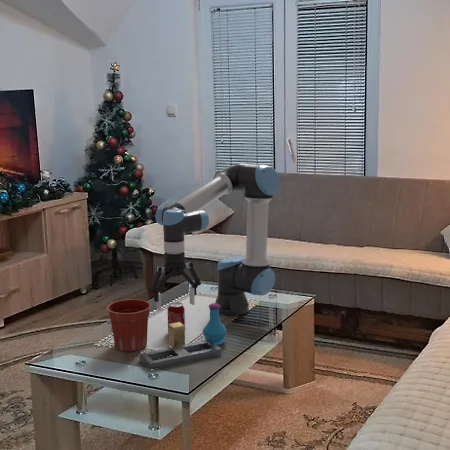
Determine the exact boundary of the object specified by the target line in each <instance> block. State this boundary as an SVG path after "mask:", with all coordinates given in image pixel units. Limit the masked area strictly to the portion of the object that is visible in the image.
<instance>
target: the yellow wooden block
mask: <svg viewBox="0 0 450 450" xmlns="http://www.w3.org/2000/svg"><path fill="white" fill-rule="evenodd" d="M185 332H186V325H185V326H184V325H183V324H182V323H180V322H177V323H172V324H169V332H168V341H169V342H168V343H169V344H168V346H169V345H170V346H171V347H177V346H182V345H186V333H185ZM171 347H170V348H171Z"/></svg>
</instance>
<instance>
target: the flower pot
mask: <svg viewBox="0 0 450 450" xmlns="http://www.w3.org/2000/svg"><path fill="white" fill-rule="evenodd" d="M151 306H152V304H151V303H150V302H149V301H147V300H144V299H137V298H129V299H126V298H125V299H121V300H115V301H113V302H111V303H109V304H108V305H107V306H106V310H107V311H108V317H109V319H110V322H111V323H110V324H111V331H112V337H113V338H112V339H113V343H114V348H115V349H116V350H118V351H121V352H125V353H126V352H127V353H130V352H136V351H137V350H140V351H141V350H143V349H144V348H146V347H147V345H148V331H149V330H148V327H149V325H148V324H149V316H150V308H151Z"/></svg>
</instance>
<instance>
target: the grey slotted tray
mask: <svg viewBox="0 0 450 450" xmlns="http://www.w3.org/2000/svg"><path fill="white" fill-rule="evenodd" d="M170 355H173V356H171V357H167V356H170ZM219 356H222V348H221V347H220V346H218V345H215V344H214V343H213V342H211V341H210V340H206V339H205V340H202V341H201V340H200V341H197V342H192V343H189V344H185V345H182V346H177V347H172V348H171V347H168V348H163V349H158V350H153V351H149V352H145V353H144V352H143V353H140V354H139V360H140V361H139V362H140V363H142V364H143V365H144V366H145V365H146V366H147V367H148V368H149V369H150V370H151V369H155V370H157V369H156V368H160V369H163V368H164V367H165V368H168V367H169V368H170V367H173V366H178V365H182V364H186V363H191V362H195V361H197V362H198V361H200V360H205V359H209V358H213V357H214V358H215V357H219ZM163 357H166V358H163ZM158 358H161V359H158ZM154 359H157V360H154ZM146 366H145V367H146ZM147 367H146V368H147ZM148 368H147V369H148ZM165 368H164V369H165ZM149 369H148V370H149ZM150 370H149V371H150ZM151 371H152V370H151Z"/></svg>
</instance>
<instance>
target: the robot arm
mask: <svg viewBox="0 0 450 450" xmlns="http://www.w3.org/2000/svg"><path fill="white" fill-rule="evenodd" d="M279 187H280V178H279V174H278V171H276V169H275V168H273V166H269V165H265V164H255V163H246V162H243V163H242V162H240V163H237V164H234V165H232V166H230V167H226V168H225V169H223V170H222V171H220V172H218V173H217V174H215V176H214V178H213V179H212V180H210V181H208V182H207V183H205V184H204V185H202V186H201V187H198V188H197V189H196V190H194V191H192V192H190V194H187V195H186V196H185V197H183V198H181V199H180V200H178V201H177V202H175V203H173V204H171V205H170V206H160V207H159V208H158V209H157V210H156V212H155V215H154V216H155V221H156V223H157V224H158V225H159V226H162V228H163V251H164V252H163V257H164V258H163V260H164V265H163V266H159V265H156V267H155V273H154V276H153V278H152V280H151V283H150V285H149V288H148V291H149V292H150V293H151V294H153V300H154V302H155V304H156V310H157V311H159V312H161V311H162V293H160V291H161V290H162V289H163V288H164V286H165V285H166V283H167V281H168V280H169V279H170V278H174V277H180V276H182V277H183V279H185V280H186V281H187V282H188V283H189V285H190V286H189V304H190V305H192V306H195V296H197V288H198V286H201V285H202V283H201V280H200V278H199V277H198V275H197V272H196V271H195V269H194V264H193V262H191V261H189V260H188V261H187V262H185V261H186V256H185V234H190V233H191V234H192V233H194V232H200V231H203V230H206V229H207V228H208V226H209V225H210V218H209V215H208V213H207V212H206V211H204V210H202V209H204V208H206V207H207V206H208V205H210V204H211V203H213V202H215V201H216V200H218V199H219V198H221V197H222V196H224V195H229V194H231V193H234V192H244V197H243V198H244V199H245V200H246V201H247V212H246V213H247V215H246V216H247V217H246V220H247V221H246V244H245V245H246V246H245V247H246V248H245V258H243V257H230V258H229V257H228V258H224V259H221V260H220V261H218V263H217V269H216V273H217V295H216V299H215V302H214V303H217V304H219V305H220V307H219V315H220V314H221V316H226V317H228V316H229V317H234V316H235V317H236V316H242V315H245V314H247V313H248V312H249V311H250V305H249V301H248V299H247V296H246V294H245V293H247V294H250V295H254V296H258V297H259V296H265V295H268V294H269V293H270V292H271V290H272V289H273V287H274V285H275V281H276V274H275V273H274V271H273V270H272V269H271V268H270V265H271V264H270V261H269V260H268V259H267V255H268V254H267V251H268V228H269V226H268V224H269V206H270V205H269V202H270V201H272V199H274V198H273V196H274V195H275V194H276V193H277V191H278V189H279ZM186 268H187V270H188V272H189V273H190V275H191V277H190V276H189V275H188V274H187V273H186V272H185V269H186ZM164 271H165V272H164ZM163 272H164V273H163ZM162 273H163V275H162ZM161 276H162V277H161ZM192 279H193V280H192Z"/></svg>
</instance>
